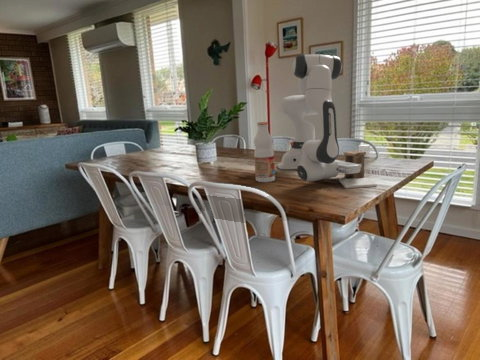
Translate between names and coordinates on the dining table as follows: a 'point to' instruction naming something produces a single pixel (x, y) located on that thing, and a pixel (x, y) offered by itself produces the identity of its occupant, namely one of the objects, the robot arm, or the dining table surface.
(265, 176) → the fruit juice
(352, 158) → the stool
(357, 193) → the dining table surface
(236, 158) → the dining table surface
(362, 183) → the mat
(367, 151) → the shot glass
